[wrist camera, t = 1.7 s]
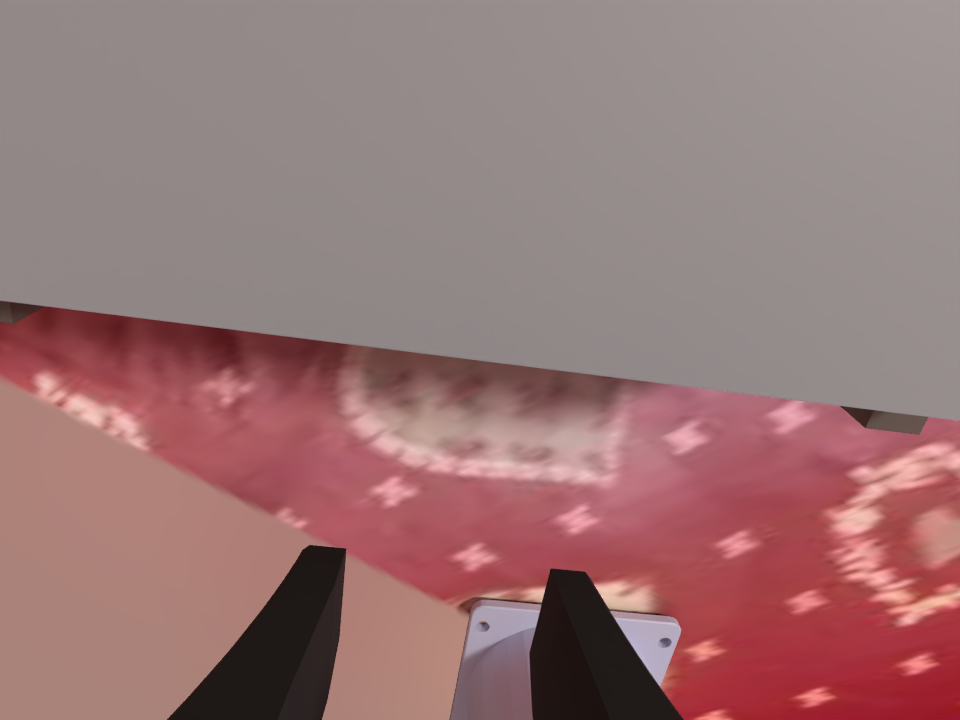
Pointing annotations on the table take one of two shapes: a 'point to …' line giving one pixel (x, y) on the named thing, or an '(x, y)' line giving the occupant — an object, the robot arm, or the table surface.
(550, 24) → the sliding cover
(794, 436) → the table surface
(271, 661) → the robot arm
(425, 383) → the table surface
